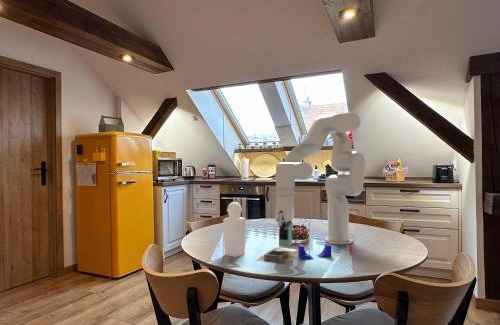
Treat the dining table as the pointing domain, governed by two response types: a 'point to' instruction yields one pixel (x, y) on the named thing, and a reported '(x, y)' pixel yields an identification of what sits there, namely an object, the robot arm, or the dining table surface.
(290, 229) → the plug
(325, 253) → the cable clip
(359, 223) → the dining table surface
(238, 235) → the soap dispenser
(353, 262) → the dining table surface
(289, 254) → the board
